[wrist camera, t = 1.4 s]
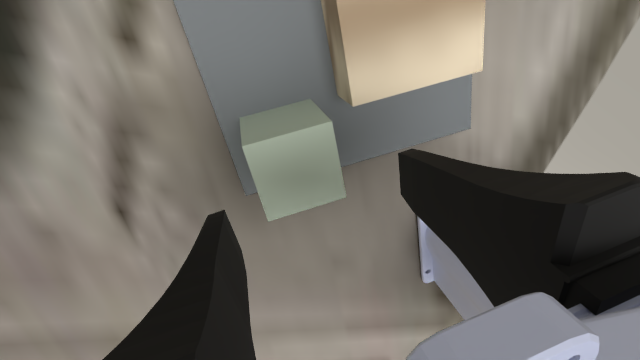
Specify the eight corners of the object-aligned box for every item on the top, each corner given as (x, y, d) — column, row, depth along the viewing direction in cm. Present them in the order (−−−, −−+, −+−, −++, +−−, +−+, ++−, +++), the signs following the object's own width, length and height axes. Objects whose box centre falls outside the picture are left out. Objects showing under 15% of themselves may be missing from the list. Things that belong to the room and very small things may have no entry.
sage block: (324, 162, 22) (346, 197, 18) (260, 181, 22) (268, 221, 18) (310, 98, 20) (331, 121, 16) (239, 117, 20) (241, 146, 15)
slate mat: (465, 126, 25) (470, 128, 24) (245, 191, 23) (246, 195, 22) (469, -112, 18) (476, -116, 17) (156, -49, 16) (154, -51, 15)
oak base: (452, 64, 22) (482, 70, 19) (337, 95, 21) (353, 106, 18) (451, -88, 18) (489, -106, 15) (310, -58, 17) (325, -71, 14)
